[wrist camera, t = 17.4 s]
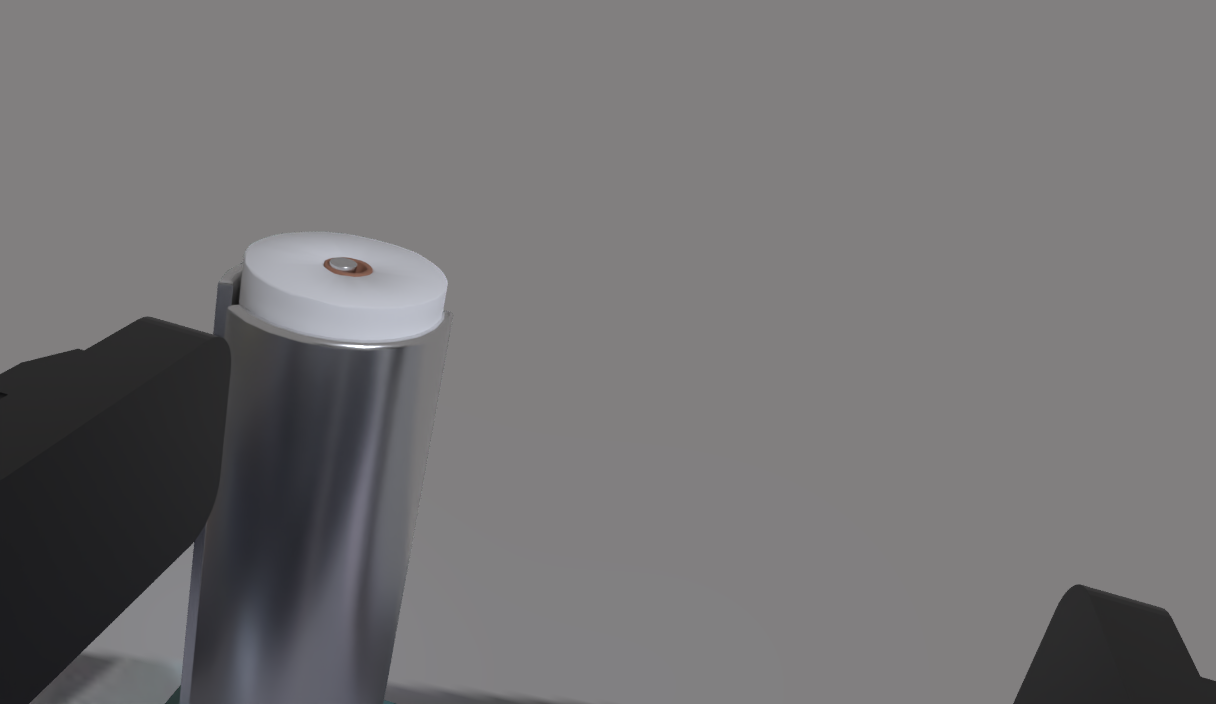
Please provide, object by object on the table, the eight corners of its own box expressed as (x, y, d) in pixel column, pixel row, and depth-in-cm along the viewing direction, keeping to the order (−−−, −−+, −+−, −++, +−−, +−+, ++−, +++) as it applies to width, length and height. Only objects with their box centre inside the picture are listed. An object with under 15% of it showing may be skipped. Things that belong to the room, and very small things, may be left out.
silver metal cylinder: (204, 815, 44) (270, 205, 35) (368, 853, 44) (479, 254, 35) (125, 961, 38) (179, 271, 29) (315, 1005, 38) (431, 330, 29)
